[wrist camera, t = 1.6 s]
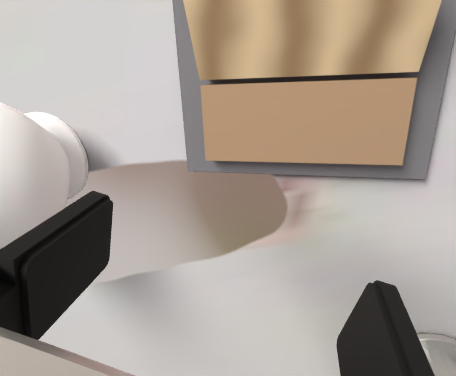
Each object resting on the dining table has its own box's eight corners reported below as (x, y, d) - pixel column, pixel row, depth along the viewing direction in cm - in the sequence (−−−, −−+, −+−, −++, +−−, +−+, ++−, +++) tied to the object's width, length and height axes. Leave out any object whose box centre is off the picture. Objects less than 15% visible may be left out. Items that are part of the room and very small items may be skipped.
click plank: (444, -40, 22) (452, -33, 21) (413, 61, 28) (418, 71, 26) (188, -11, 27) (182, -5, 25) (204, 71, 32) (199, 80, 31)
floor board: (473, -83, 24) (494, -103, 22) (422, 176, 32) (432, 185, 29) (172, -42, 30) (159, -53, 27) (190, 168, 38) (182, 176, 35)
